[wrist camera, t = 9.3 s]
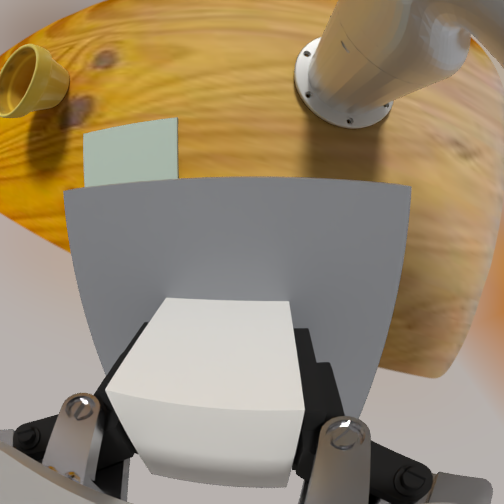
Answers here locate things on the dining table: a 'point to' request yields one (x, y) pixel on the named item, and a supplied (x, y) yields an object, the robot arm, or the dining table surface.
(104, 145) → the mat
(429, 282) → the dining table surface
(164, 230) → the lid
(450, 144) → the dining table surface
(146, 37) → the dining table surface
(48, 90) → the plant pot
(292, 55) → the dining table surface
